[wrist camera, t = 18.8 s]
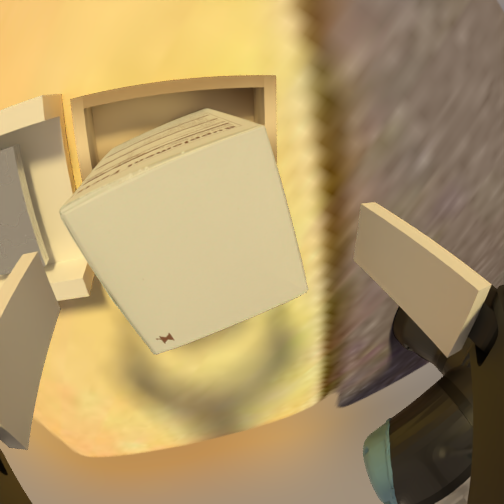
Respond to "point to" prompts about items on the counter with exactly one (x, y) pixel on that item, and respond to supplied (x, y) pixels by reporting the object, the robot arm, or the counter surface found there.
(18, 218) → the cradle platform
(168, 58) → the counter surface
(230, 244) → the supplement box
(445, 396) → the robot arm
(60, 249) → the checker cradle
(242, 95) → the wooden trough
